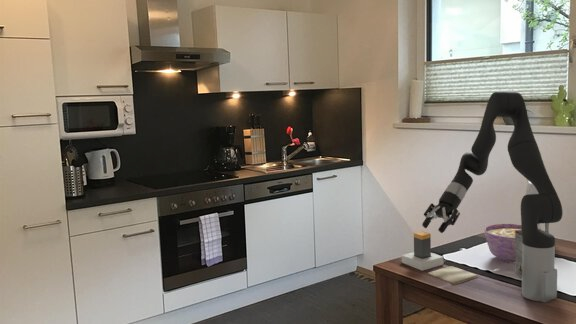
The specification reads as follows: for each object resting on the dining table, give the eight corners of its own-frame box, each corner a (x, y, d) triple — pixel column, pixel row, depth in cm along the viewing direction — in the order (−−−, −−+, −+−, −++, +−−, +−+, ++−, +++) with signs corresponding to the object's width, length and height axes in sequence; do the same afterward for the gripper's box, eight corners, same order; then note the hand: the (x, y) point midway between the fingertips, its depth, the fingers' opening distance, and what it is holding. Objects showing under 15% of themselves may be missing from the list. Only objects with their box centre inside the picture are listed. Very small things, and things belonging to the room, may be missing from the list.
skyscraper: (534, 244, 212) (535, 179, 208) (519, 239, 220) (520, 176, 216) (550, 242, 215) (551, 177, 211) (535, 237, 223) (536, 174, 219)
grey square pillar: (430, 263, 195) (430, 233, 193) (422, 266, 193) (421, 235, 191) (422, 260, 199) (422, 231, 197) (414, 263, 197) (413, 233, 195)
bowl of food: (528, 250, 206) (529, 223, 204) (549, 267, 186) (549, 237, 184) (477, 251, 208) (477, 224, 206) (492, 268, 188) (492, 238, 186)
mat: (477, 277, 181) (477, 275, 180) (453, 284, 175) (453, 282, 175) (451, 267, 191) (451, 265, 191) (428, 274, 185) (427, 272, 185)
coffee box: (539, 271, 183) (540, 228, 181) (549, 278, 176) (550, 233, 174) (514, 273, 183) (515, 230, 180) (523, 279, 176) (523, 235, 174)
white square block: (443, 265, 194) (443, 256, 193) (422, 271, 188) (422, 262, 188) (422, 258, 203) (422, 249, 203) (401, 263, 198) (401, 255, 198)
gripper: (434, 187, 205) (413, 220, 201) (462, 193, 193) (440, 227, 189) (444, 198, 208) (423, 230, 204) (472, 204, 196) (450, 238, 192)
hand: (431, 229), depth 197 cm, fingers open, 8 cm apart
